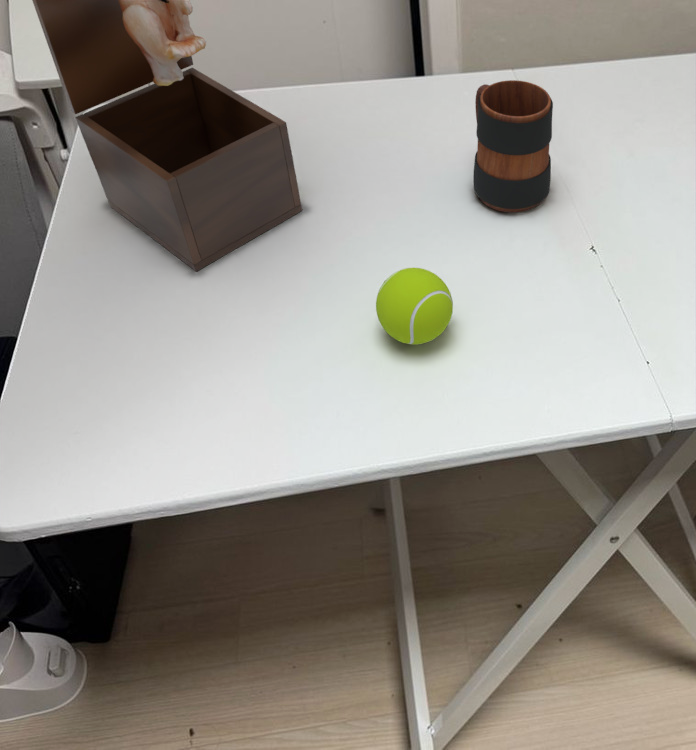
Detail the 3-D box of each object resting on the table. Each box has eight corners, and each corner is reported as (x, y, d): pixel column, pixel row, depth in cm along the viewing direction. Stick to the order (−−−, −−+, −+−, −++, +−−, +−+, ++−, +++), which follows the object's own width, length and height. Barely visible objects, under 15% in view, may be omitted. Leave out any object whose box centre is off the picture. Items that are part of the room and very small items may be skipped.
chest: (302, 210, 91) (286, 122, 83) (196, 271, 84) (167, 181, 76) (215, 154, 98) (192, 67, 90) (110, 206, 91) (74, 116, 82)
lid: (160, -99, 76) (126, -120, 78) (16, -57, 69) (-18, -81, 71) (193, 64, 89) (163, 43, 91) (75, 114, 82) (45, 90, 84)
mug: (509, 148, 100) (513, 56, 91) (563, 201, 93) (573, 107, 84) (446, 168, 97) (443, 74, 88) (497, 224, 90) (500, 129, 81)
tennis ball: (468, 333, 79) (468, 278, 74) (412, 371, 76) (408, 316, 70) (419, 297, 82) (416, 242, 77) (364, 331, 79) (356, 276, 74)
